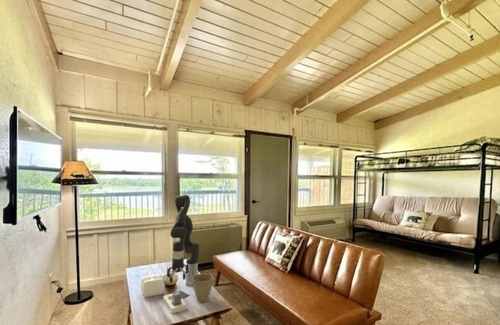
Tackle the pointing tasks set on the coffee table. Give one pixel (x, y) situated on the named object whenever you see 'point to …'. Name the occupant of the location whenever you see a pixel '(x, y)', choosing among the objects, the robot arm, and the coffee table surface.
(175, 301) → the block
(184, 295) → the phone slab
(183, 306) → the outlet plate
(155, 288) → the cable organizer
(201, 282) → the plant pot
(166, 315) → the coffee table surface
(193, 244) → the robot arm
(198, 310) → the coffee table surface
